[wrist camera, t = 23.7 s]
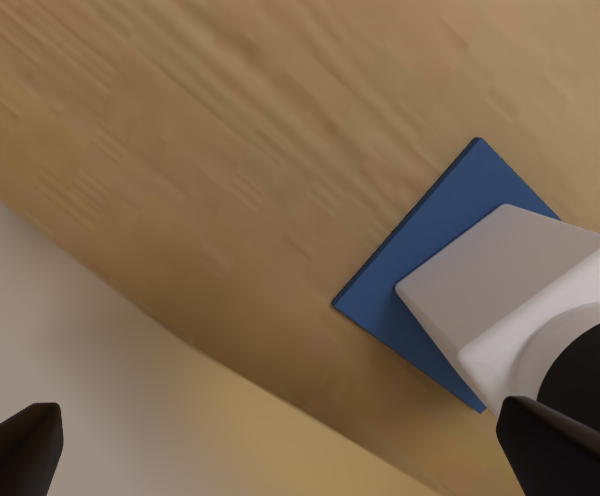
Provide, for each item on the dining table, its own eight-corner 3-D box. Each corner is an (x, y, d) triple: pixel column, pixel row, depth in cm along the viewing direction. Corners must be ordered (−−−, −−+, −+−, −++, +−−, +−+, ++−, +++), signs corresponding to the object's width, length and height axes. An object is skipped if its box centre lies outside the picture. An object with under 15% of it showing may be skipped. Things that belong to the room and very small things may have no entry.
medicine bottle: (456, 372, 24) (651, 601, 13) (389, 284, 22) (554, 467, 10) (560, 297, 23) (861, 466, 12) (503, 199, 21) (807, 294, 10)
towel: (475, 408, 26) (480, 414, 25) (331, 301, 22) (333, 306, 22) (608, 273, 24) (616, 277, 24) (475, 136, 21) (481, 137, 20)
